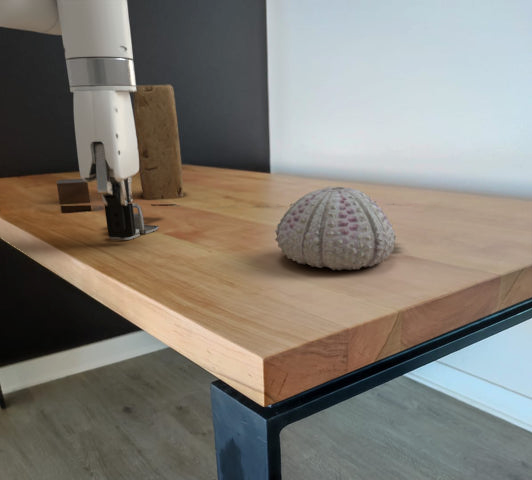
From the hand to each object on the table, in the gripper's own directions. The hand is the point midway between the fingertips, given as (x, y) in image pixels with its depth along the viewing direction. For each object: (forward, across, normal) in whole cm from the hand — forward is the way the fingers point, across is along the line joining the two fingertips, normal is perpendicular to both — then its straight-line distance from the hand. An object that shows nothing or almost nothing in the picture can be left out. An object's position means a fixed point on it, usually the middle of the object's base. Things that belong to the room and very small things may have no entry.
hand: (122, 235), depth 71 cm
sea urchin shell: (+1, +9, +27) cm, 28 cm away
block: (+1, -34, -2) cm, 34 cm away
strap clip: (+1, -6, 0) cm, 6 cm away
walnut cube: (+1, -27, -16) cm, 31 cm away
